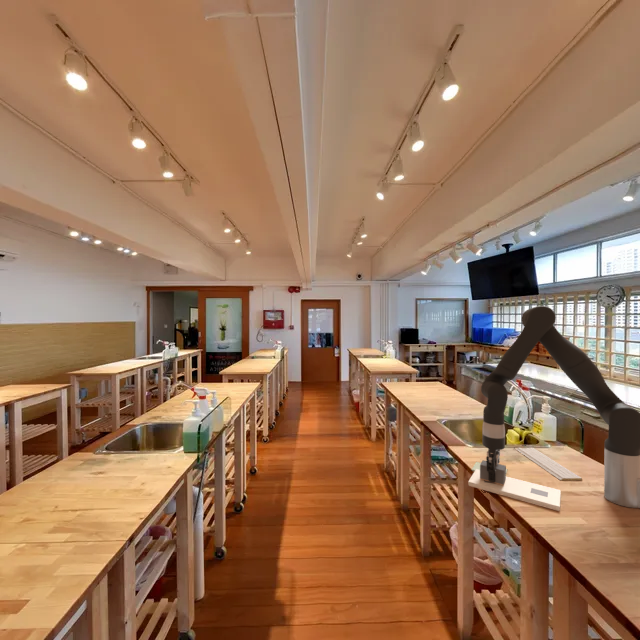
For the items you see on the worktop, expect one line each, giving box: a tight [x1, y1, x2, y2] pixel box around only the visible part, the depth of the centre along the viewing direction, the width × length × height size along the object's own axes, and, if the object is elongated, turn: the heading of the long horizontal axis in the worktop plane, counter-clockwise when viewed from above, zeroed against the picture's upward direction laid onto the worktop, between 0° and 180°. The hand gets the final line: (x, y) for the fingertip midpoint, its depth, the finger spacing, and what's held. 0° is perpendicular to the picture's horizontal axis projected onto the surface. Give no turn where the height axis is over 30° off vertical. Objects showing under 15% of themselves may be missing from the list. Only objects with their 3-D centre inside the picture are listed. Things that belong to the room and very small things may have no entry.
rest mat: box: [471, 461, 508, 474], centre depth 138 cm, size 12×9×1 cm
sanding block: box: [480, 460, 507, 486], centre depth 126 cm, size 8×5×6 cm, turn 53°
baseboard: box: [512, 444, 583, 481], centre depth 145 cm, size 30×3×10 cm
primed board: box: [467, 469, 562, 512], centre depth 123 cm, size 28×13×2 cm, turn 53°
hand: (493, 478), depth 126 cm, fingers closed on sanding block, 5 cm apart
